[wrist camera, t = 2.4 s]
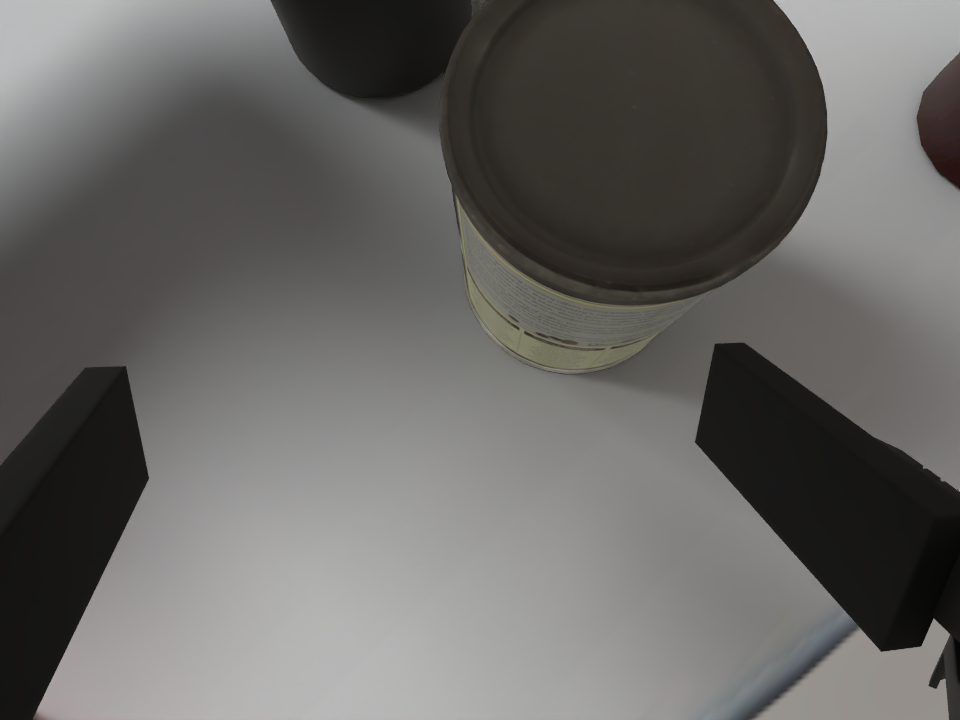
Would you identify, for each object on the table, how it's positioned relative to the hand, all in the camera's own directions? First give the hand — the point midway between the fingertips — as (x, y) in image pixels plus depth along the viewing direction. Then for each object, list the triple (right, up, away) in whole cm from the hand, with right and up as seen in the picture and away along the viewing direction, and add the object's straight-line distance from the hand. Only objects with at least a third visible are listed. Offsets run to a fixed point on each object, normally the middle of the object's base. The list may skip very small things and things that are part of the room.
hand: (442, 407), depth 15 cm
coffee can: (+5, +5, +17) cm, 18 cm away
